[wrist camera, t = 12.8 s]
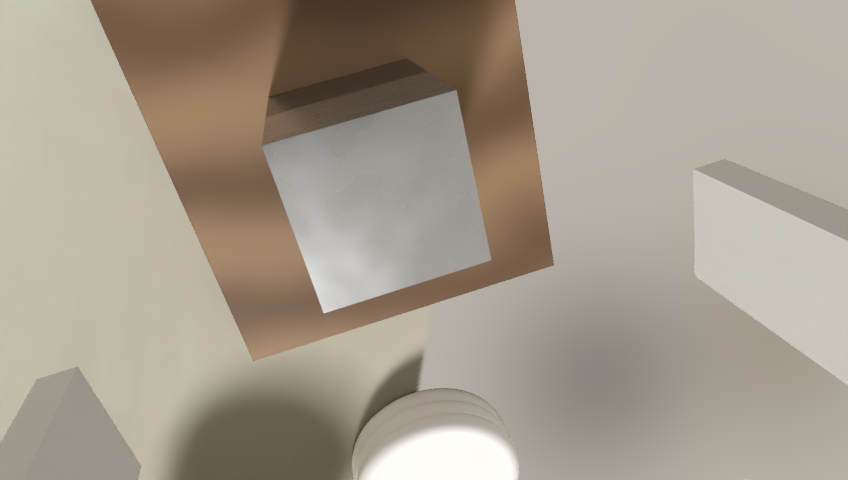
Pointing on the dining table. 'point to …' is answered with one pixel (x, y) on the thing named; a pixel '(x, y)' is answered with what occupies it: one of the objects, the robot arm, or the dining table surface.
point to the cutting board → (302, 66)
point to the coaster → (435, 440)
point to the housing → (375, 181)
